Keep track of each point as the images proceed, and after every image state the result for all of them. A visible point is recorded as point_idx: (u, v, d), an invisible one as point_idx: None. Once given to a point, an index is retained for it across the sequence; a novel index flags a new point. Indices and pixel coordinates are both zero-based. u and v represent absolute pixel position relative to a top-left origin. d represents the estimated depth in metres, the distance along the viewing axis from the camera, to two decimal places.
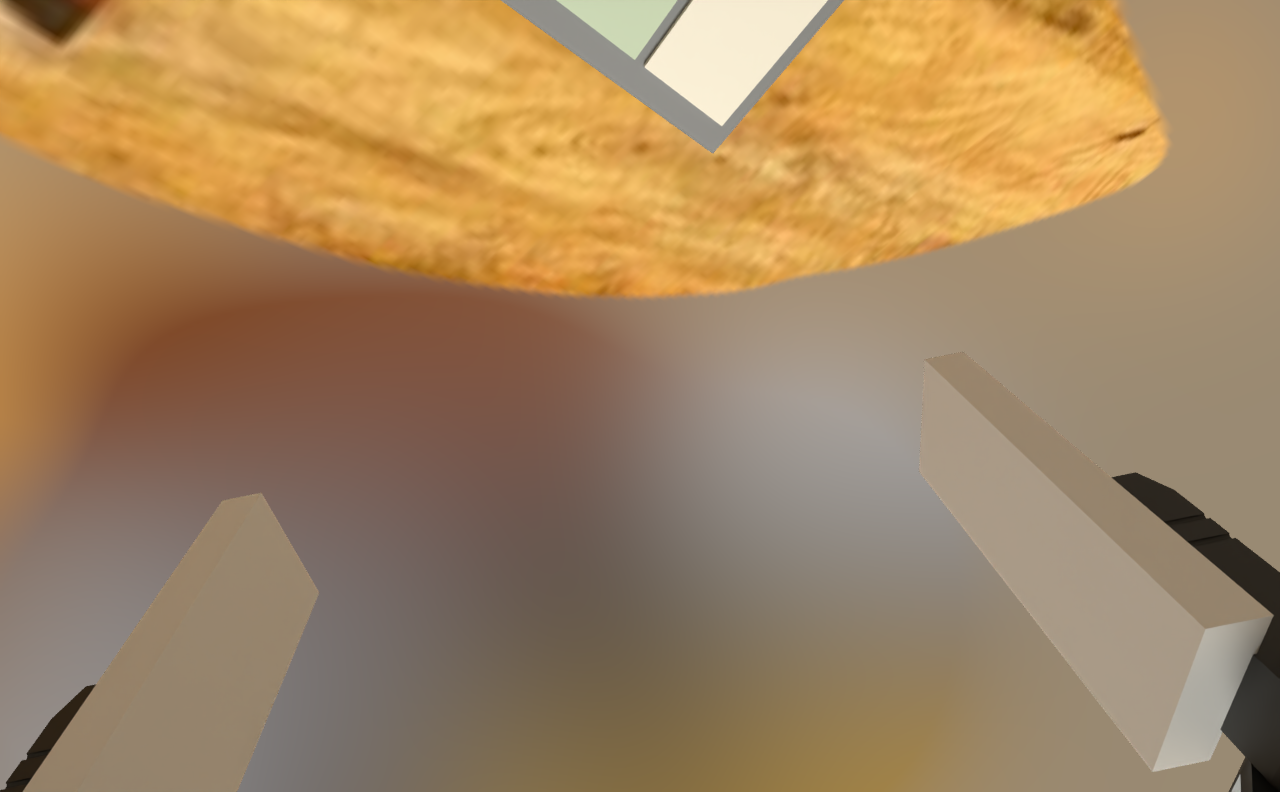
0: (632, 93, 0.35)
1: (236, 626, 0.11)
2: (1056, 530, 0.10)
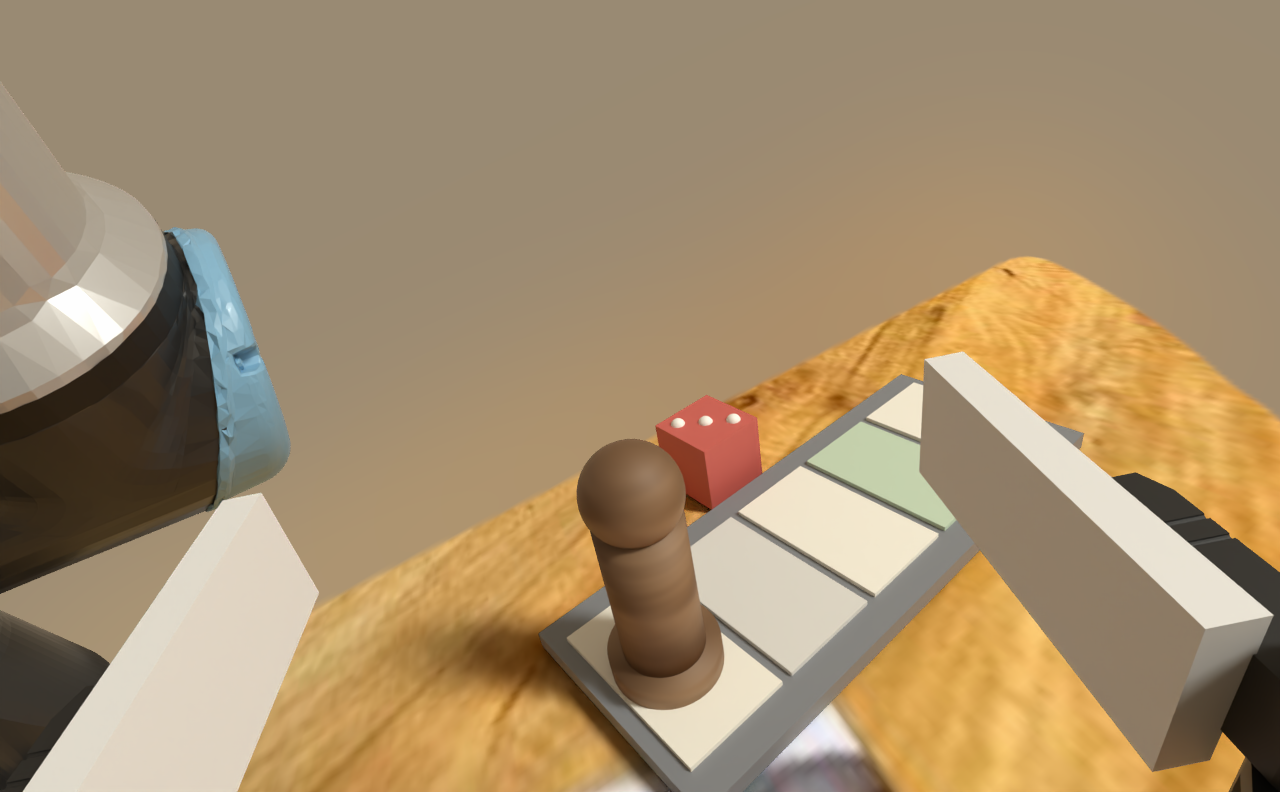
0: None
1: (236, 626, 0.11)
2: (1056, 530, 0.10)
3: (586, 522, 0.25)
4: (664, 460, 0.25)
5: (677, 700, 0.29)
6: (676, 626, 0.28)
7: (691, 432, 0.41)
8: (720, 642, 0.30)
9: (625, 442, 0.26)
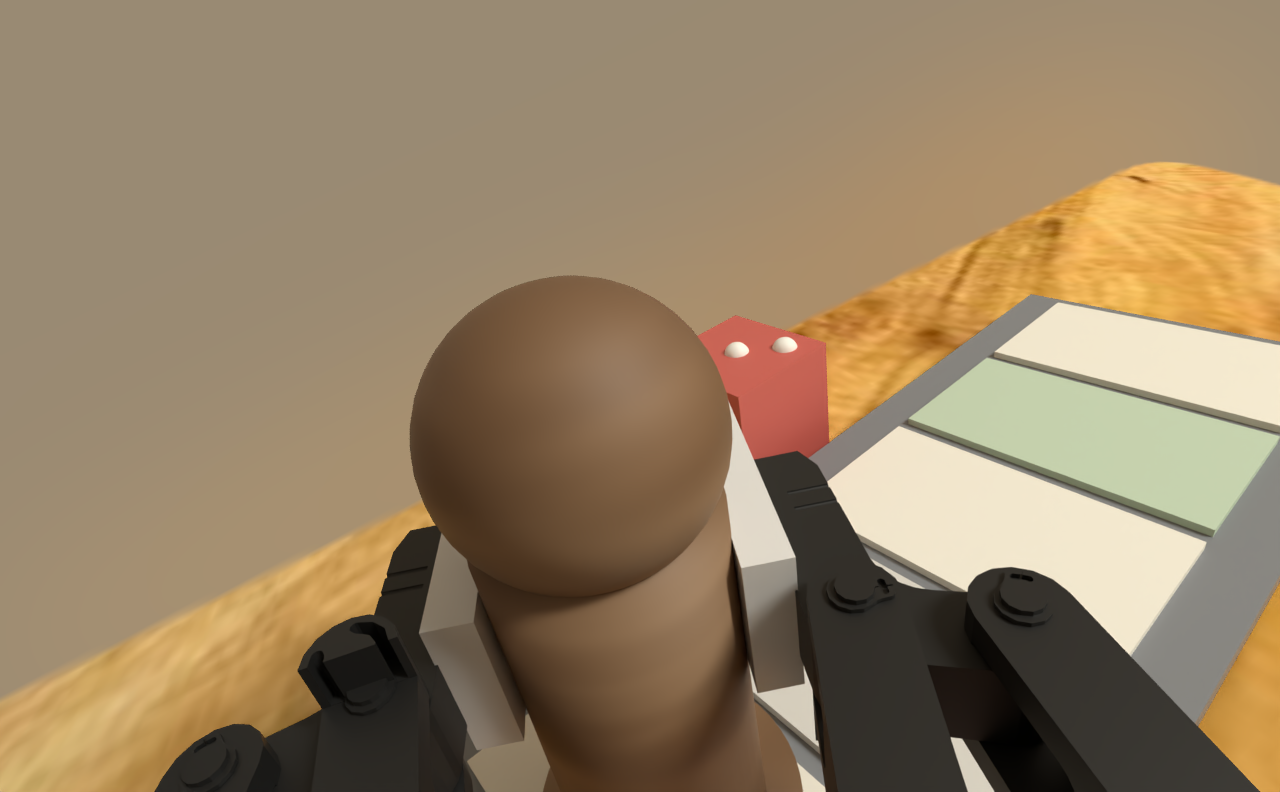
0: None
1: None
2: None
3: (432, 517, 0.08)
4: (669, 322, 0.08)
5: None
6: (703, 791, 0.10)
7: None
8: None
9: (553, 277, 0.09)
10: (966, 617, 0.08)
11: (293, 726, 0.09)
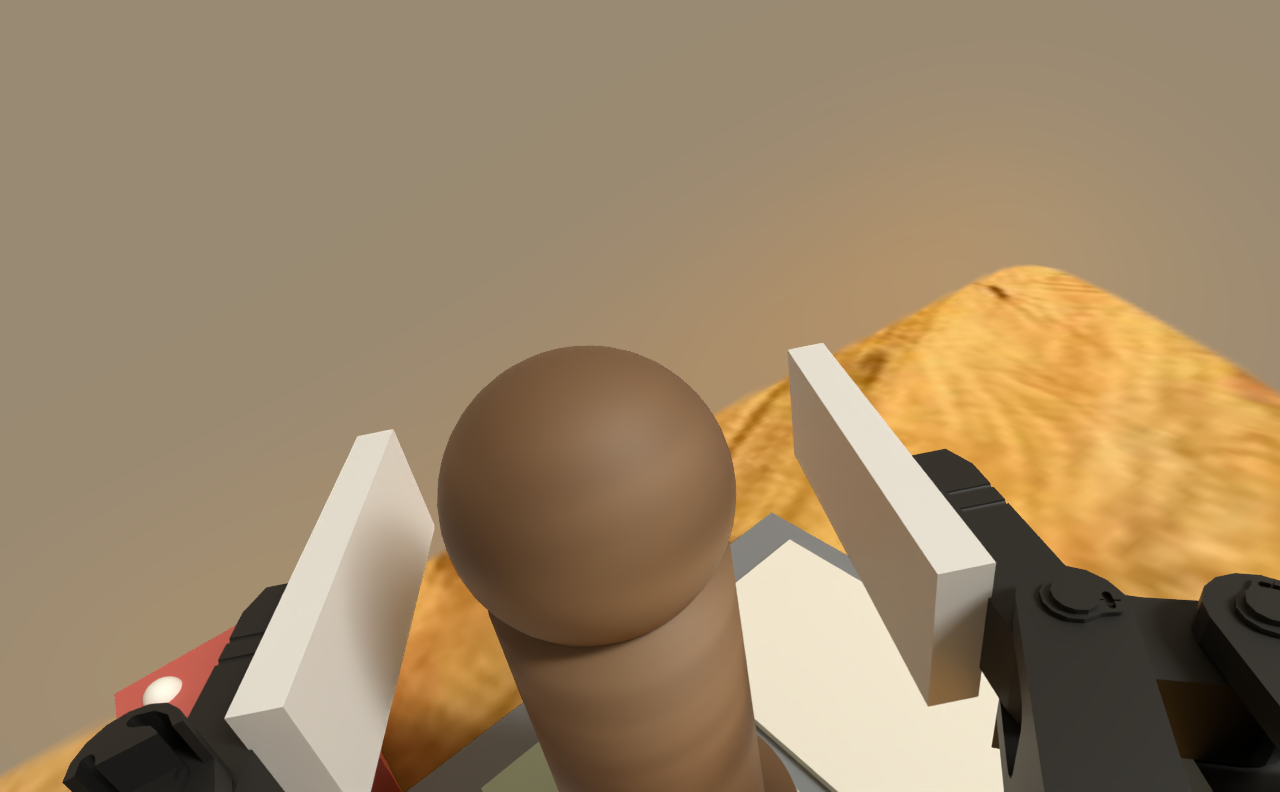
0: None
1: (386, 542, 0.13)
2: (864, 498, 0.11)
3: (458, 572, 0.09)
4: (678, 392, 0.09)
5: None
6: None
7: None
8: None
9: (570, 348, 0.09)
10: (1197, 618, 0.08)
11: None
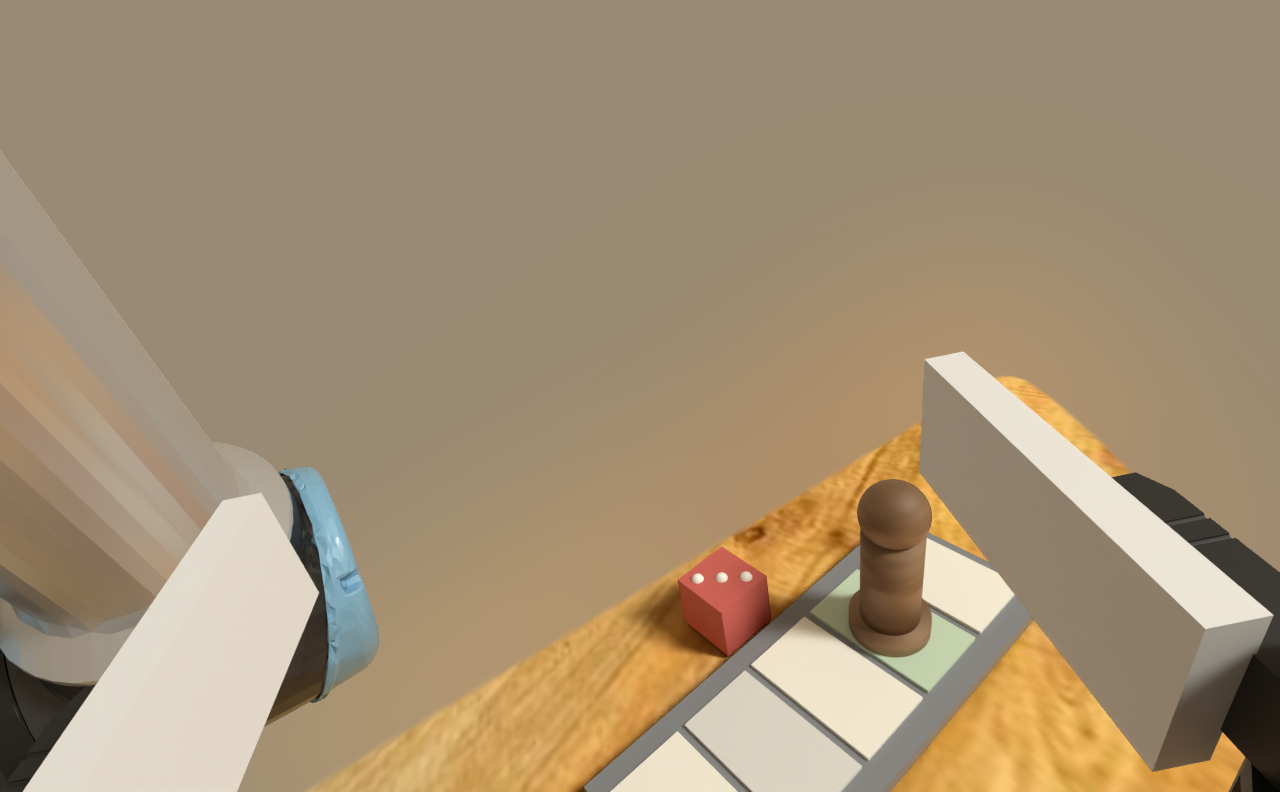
0: (1005, 642, 0.43)
1: (236, 626, 0.11)
2: (1056, 530, 0.10)
3: (870, 532, 0.40)
4: (921, 494, 0.40)
5: (907, 650, 0.43)
6: (913, 601, 0.42)
7: (709, 590, 0.47)
8: (930, 613, 0.45)
9: (894, 482, 0.40)
10: None
11: None
